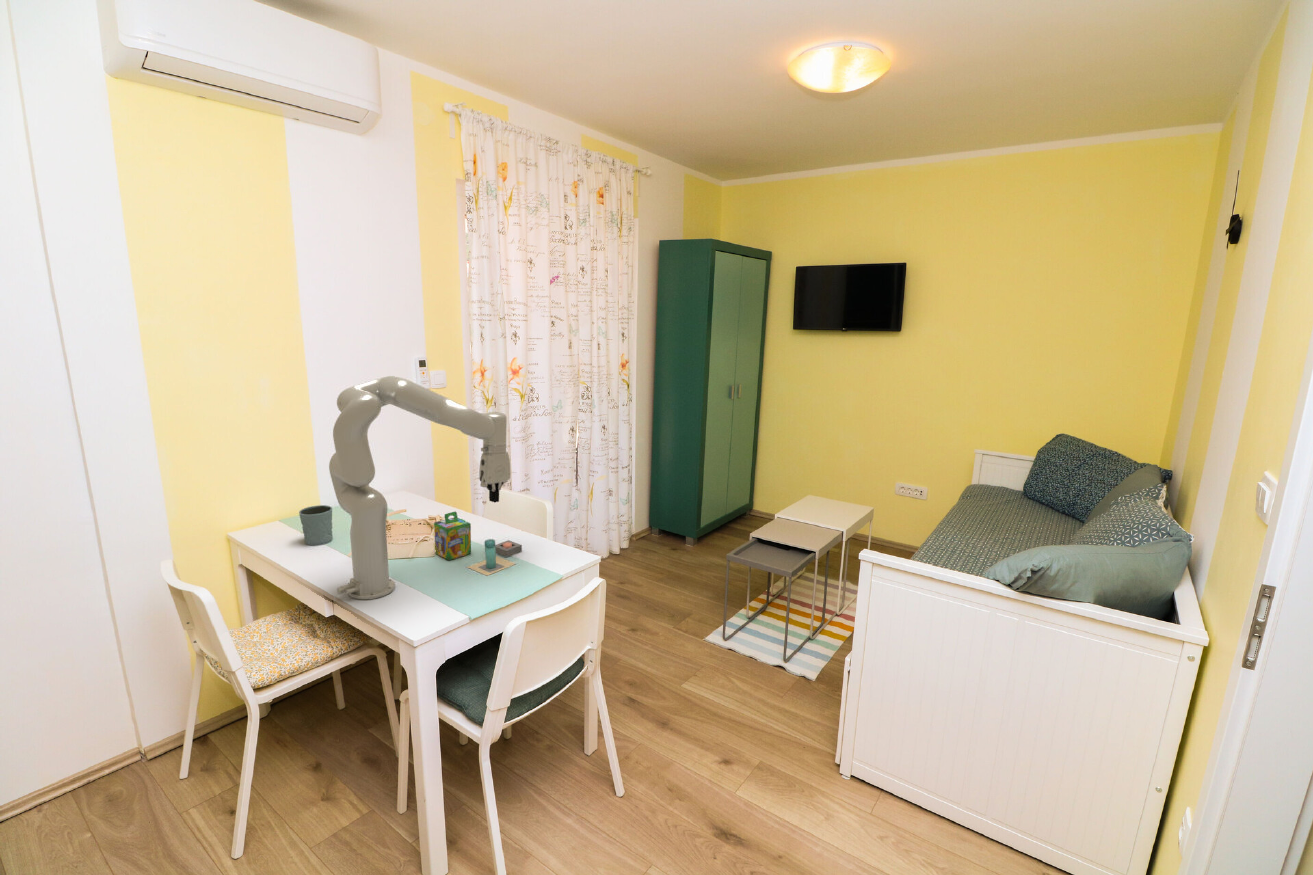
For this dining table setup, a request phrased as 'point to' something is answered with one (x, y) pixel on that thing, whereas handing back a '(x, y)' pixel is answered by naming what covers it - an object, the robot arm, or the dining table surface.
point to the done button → (507, 545)
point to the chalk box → (452, 537)
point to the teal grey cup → (317, 524)
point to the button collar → (508, 549)
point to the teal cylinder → (490, 553)
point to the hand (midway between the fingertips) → (494, 501)
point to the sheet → (500, 565)
